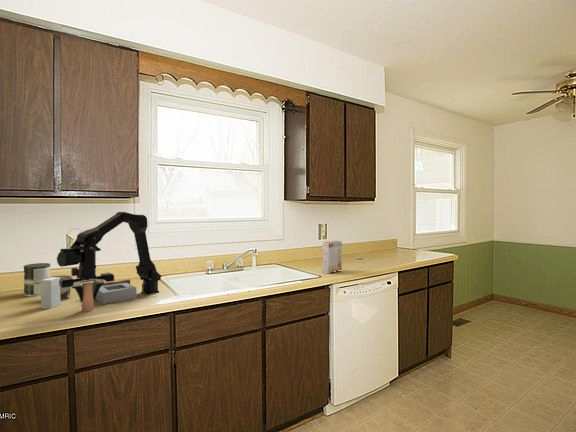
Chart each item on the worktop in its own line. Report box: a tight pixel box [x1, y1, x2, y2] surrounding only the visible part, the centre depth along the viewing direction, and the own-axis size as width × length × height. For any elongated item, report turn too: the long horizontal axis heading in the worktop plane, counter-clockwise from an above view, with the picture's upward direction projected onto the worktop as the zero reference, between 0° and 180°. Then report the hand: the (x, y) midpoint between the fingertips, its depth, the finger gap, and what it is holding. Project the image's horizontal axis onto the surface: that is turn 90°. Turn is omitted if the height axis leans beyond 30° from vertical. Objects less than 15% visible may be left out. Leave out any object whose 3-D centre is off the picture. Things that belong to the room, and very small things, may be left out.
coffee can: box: [23, 262, 51, 297], centre depth 157 cm, size 10×10×14 cm
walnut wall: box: [93, 279, 131, 287], centre depth 156 cm, size 18×2×6 cm, turn 135°
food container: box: [44, 274, 74, 301], centre depth 150 cm, size 12×6×10 cm, turn 92°
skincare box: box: [40, 277, 61, 310], centre depth 137 cm, size 6×4×12 cm
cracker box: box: [322, 240, 343, 274], centre depth 219 cm, size 14×6×21 cm, turn 133°
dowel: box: [81, 282, 94, 313], centre depth 132 cm, size 4×4×11 cm
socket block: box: [95, 283, 137, 305], centre depth 151 cm, size 14×14×5 cm
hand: (87, 300), depth 132 cm, fingers closed on dowel, 4 cm apart
